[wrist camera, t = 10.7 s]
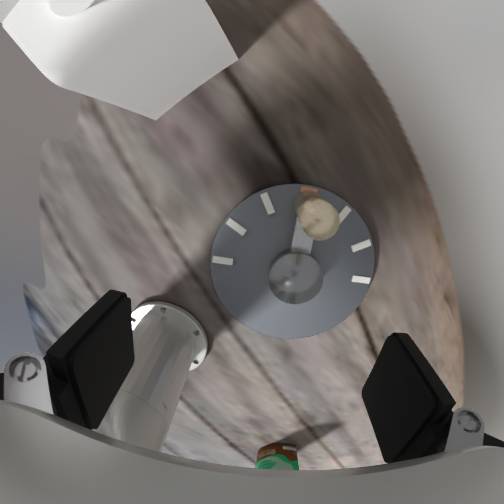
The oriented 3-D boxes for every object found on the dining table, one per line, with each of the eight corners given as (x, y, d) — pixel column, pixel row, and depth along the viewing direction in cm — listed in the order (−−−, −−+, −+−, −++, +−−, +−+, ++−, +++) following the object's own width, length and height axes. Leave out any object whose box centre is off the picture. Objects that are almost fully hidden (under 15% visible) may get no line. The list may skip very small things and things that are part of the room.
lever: (313, 298, 34) (323, 337, 26) (265, 291, 34) (263, 329, 26) (337, 195, 29) (359, 209, 22) (283, 185, 29) (287, 196, 22)
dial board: (347, 339, 38) (350, 345, 36) (207, 322, 38) (205, 328, 37) (387, 200, 31) (392, 202, 30) (220, 172, 31) (218, 173, 30)
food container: (277, 433, 46) (277, 475, 37) (300, 442, 47) (302, 482, 38) (240, 454, 50) (236, 491, 40) (262, 462, 51) (260, 497, 41)
